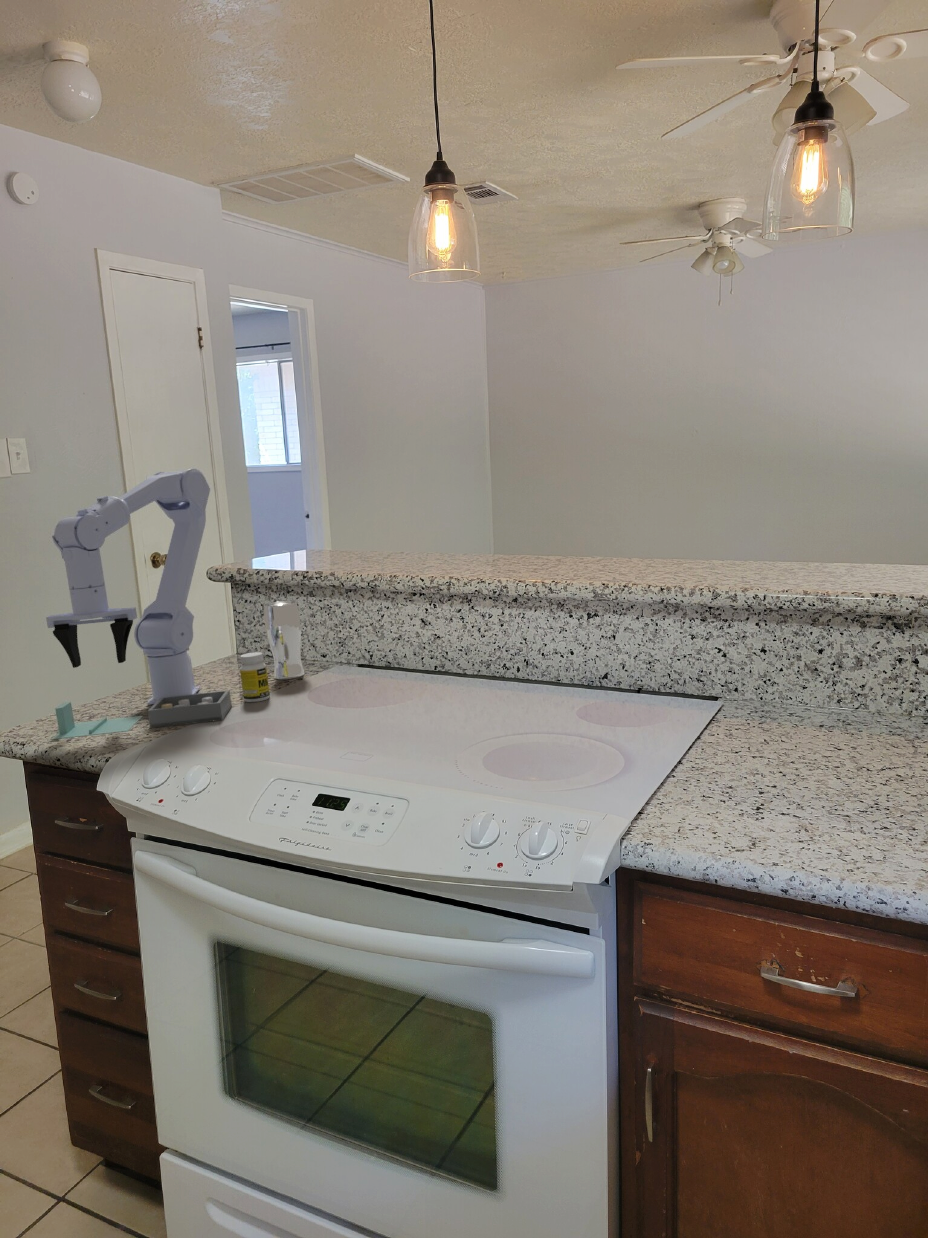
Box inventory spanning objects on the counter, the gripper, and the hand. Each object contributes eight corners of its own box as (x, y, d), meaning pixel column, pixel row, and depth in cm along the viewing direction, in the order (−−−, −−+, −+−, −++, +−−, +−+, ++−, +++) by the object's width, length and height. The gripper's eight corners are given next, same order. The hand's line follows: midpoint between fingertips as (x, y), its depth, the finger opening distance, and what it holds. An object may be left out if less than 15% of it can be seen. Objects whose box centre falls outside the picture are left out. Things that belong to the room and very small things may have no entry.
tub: (163, 713, 157) (161, 697, 157) (231, 706, 158) (229, 690, 158) (150, 727, 149) (147, 710, 148) (222, 720, 149) (219, 703, 149)
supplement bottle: (263, 702, 159) (257, 656, 158) (239, 703, 160) (233, 658, 159) (274, 695, 164) (268, 651, 162) (250, 696, 165) (245, 652, 163)
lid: (71, 726, 157) (66, 699, 156) (143, 718, 158) (139, 691, 157) (50, 742, 147) (45, 713, 146) (128, 733, 148) (123, 704, 147)
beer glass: (296, 670, 184) (287, 599, 181) (313, 674, 178) (304, 601, 176) (266, 677, 179) (256, 604, 177) (282, 682, 174) (272, 607, 172)
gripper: (34, 593, 147) (48, 673, 149) (123, 585, 148) (135, 664, 150) (50, 588, 154) (63, 664, 156) (135, 580, 155) (146, 656, 157)
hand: (99, 664), depth 153 cm, fingers open, 7 cm apart
